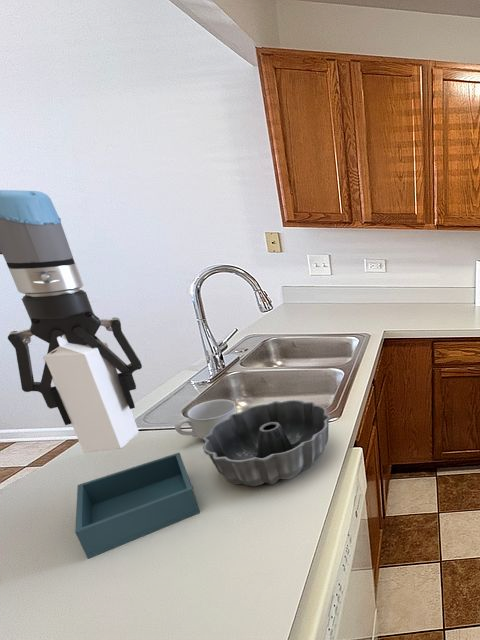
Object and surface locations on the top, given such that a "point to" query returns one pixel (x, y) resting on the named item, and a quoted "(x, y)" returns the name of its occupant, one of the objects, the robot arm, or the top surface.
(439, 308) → the top surface
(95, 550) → the tote
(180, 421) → the teacup
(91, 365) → the milk
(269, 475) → the bundt pan
